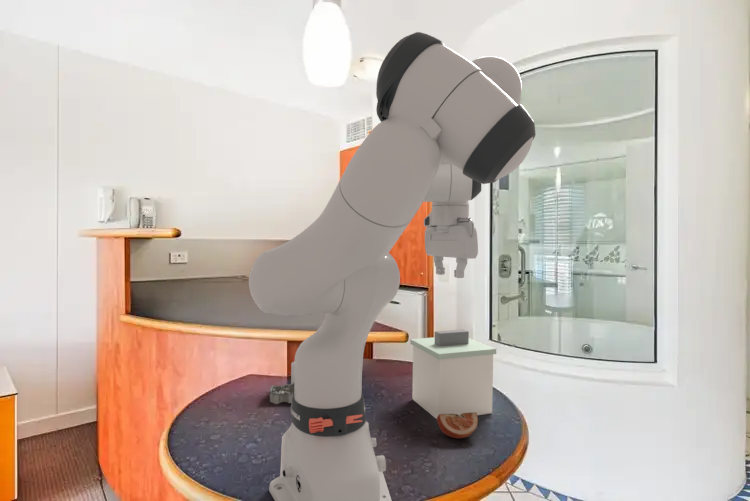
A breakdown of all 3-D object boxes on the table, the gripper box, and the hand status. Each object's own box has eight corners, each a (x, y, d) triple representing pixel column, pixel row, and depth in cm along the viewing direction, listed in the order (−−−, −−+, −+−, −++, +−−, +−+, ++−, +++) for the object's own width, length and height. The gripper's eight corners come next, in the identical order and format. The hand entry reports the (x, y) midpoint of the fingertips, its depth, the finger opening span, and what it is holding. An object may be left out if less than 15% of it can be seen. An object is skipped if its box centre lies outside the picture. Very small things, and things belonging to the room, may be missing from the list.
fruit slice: (470, 428, 91) (470, 405, 91) (484, 443, 84) (484, 418, 84) (433, 431, 89) (433, 408, 89) (444, 446, 83) (444, 421, 83)
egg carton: (313, 393, 112) (313, 378, 112) (311, 404, 104) (311, 388, 104) (272, 394, 111) (272, 378, 111) (267, 405, 103) (267, 388, 103)
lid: (496, 358, 99) (496, 336, 99) (438, 364, 94) (439, 340, 93) (461, 343, 113) (462, 324, 113) (410, 347, 108) (410, 327, 108)
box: (492, 413, 99) (493, 353, 99) (439, 421, 95) (439, 358, 94) (460, 392, 112) (461, 340, 112) (412, 399, 108) (413, 344, 107)
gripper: (485, 217, 93) (484, 279, 94) (442, 220, 113) (441, 272, 113) (460, 216, 91) (459, 280, 92) (420, 220, 111) (420, 273, 111)
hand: (449, 276), depth 103 cm, fingers open, 8 cm apart
